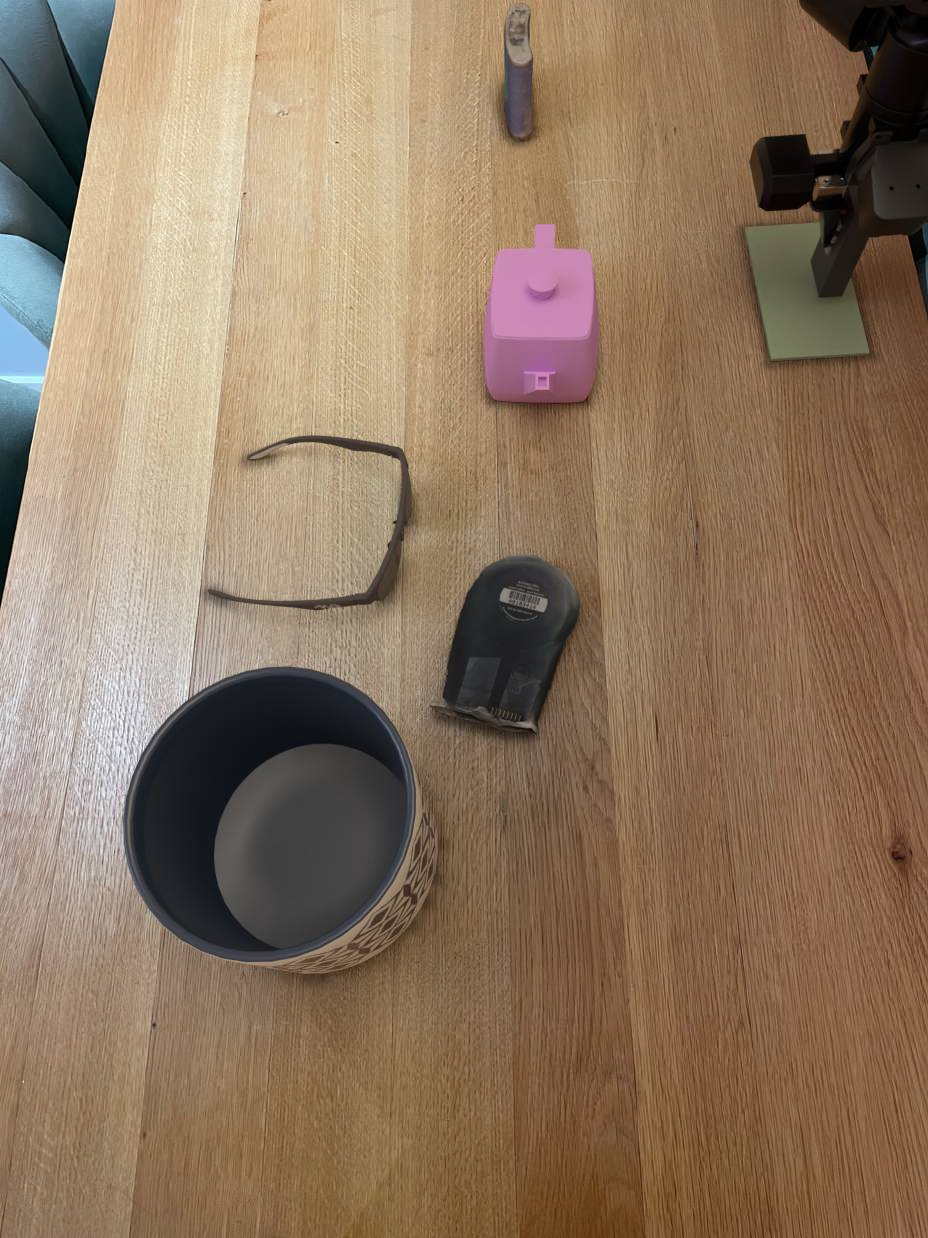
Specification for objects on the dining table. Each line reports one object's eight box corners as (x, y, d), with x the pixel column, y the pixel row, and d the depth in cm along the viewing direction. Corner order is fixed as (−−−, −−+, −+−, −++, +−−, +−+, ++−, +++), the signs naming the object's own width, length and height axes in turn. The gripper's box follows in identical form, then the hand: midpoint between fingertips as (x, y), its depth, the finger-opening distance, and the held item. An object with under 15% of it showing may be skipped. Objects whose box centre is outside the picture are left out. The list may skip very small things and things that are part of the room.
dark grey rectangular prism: (833, 259, 90) (870, 173, 81) (842, 296, 88) (881, 212, 79) (806, 261, 90) (841, 174, 81) (815, 298, 88) (851, 214, 79)
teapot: (595, 441, 85) (605, 369, 76) (479, 438, 86) (474, 367, 76) (597, 284, 92) (605, 200, 82) (489, 283, 93) (485, 200, 83)
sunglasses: (396, 633, 79) (381, 609, 74) (212, 616, 82) (188, 592, 78) (431, 465, 85) (420, 433, 80) (259, 455, 88) (239, 424, 84)
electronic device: (548, 746, 76) (592, 573, 79) (538, 734, 71) (585, 550, 74) (440, 720, 79) (487, 554, 82) (423, 706, 73) (473, 530, 77)
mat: (744, 229, 94) (745, 226, 93) (836, 223, 93) (837, 220, 93) (770, 361, 87) (771, 358, 87) (868, 355, 87) (869, 352, 87)
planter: (205, 746, 76) (127, 680, 61) (429, 722, 76) (406, 650, 61) (202, 986, 69) (113, 980, 54) (449, 961, 69) (429, 947, 54)
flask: (532, 141, 100) (534, 45, 90) (505, 142, 100) (503, 47, 90) (529, 80, 103) (530, -19, 93) (502, 81, 103) (500, -17, 94)
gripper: (797, 174, 68) (748, 321, 82) (1062, 155, 67) (966, 307, 81) (772, 66, 72) (730, 224, 86) (1021, 47, 71) (937, 210, 86)
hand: (839, 243), depth 85 cm, fingers closed on dark grey rectangular prism, 2 cm apart
